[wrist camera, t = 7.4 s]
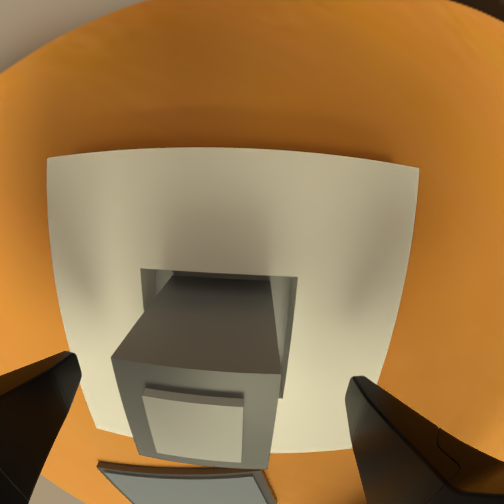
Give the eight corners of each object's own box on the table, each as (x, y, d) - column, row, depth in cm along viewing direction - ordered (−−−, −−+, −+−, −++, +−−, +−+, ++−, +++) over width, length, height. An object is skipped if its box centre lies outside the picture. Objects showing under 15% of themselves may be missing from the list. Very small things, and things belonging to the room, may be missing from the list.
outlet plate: (344, 424, 15) (351, 448, 13) (108, 406, 15) (96, 428, 13) (395, 167, 11) (419, 167, 9) (73, 158, 11) (47, 157, 9)
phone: (276, 495, 18) (277, 508, 17) (136, 495, 19) (133, 506, 17) (260, 457, 16) (260, 472, 15) (100, 456, 17) (95, 468, 16)
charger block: (264, 362, 13) (267, 476, 7) (177, 356, 13) (136, 461, 7) (270, 280, 12) (282, 382, 6) (172, 275, 12) (105, 364, 6)
